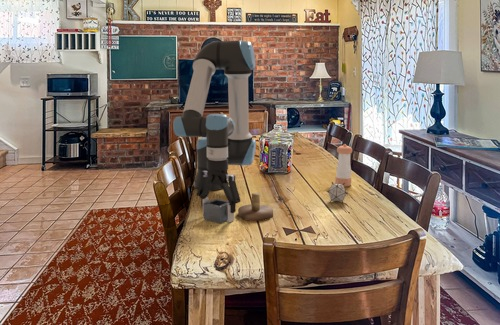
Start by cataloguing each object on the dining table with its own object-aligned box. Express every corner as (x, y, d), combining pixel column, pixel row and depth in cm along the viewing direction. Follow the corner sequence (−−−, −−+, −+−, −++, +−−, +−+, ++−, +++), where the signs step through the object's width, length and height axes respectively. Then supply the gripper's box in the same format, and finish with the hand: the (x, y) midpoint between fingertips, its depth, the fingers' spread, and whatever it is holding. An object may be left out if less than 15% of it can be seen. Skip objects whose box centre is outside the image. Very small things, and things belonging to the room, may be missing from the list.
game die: (331, 209, 177) (320, 188, 179) (349, 201, 178) (338, 180, 180) (336, 205, 168) (324, 183, 171) (355, 196, 169) (343, 174, 172)
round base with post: (231, 216, 157) (231, 195, 156) (250, 207, 168) (250, 187, 166) (261, 223, 150) (261, 201, 149) (279, 213, 161) (279, 192, 159)
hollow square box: (203, 219, 154) (203, 203, 153) (216, 213, 160) (216, 198, 159) (220, 223, 150) (220, 207, 149) (232, 217, 156) (232, 201, 155)
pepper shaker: (348, 187, 196) (350, 146, 192) (332, 185, 200) (334, 144, 196) (353, 183, 202) (355, 143, 198) (338, 181, 206) (340, 142, 202)
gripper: (185, 156, 153) (187, 215, 158) (238, 164, 141) (238, 227, 145) (199, 153, 160) (200, 209, 164) (250, 160, 147) (250, 221, 152)
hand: (218, 218), depth 155 cm, fingers open, 11 cm apart
